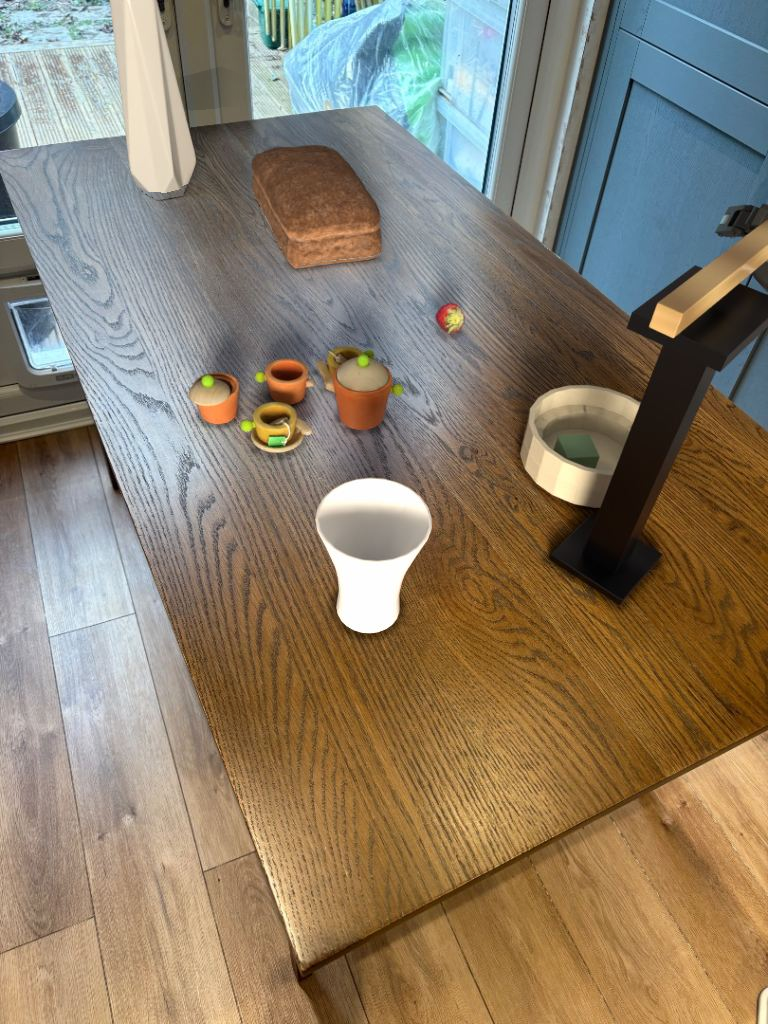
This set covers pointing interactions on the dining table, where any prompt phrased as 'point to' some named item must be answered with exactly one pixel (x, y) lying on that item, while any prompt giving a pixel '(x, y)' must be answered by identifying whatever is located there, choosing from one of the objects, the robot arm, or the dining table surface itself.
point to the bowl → (577, 415)
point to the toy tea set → (301, 396)
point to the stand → (658, 436)
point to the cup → (372, 546)
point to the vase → (150, 99)
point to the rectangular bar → (711, 283)
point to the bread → (316, 206)
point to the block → (577, 449)
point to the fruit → (450, 318)
